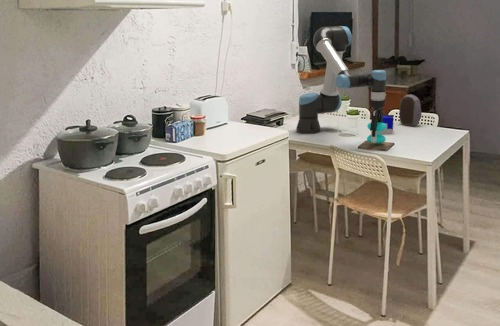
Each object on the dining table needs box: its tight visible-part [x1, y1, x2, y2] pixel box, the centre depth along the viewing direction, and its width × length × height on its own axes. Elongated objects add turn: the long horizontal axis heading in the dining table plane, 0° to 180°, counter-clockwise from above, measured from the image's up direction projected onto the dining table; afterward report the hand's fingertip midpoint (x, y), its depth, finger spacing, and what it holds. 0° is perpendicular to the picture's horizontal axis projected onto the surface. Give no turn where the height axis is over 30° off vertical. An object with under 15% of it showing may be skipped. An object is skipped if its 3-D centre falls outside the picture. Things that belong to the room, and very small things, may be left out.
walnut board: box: [357, 139, 395, 152], centre depth 288 cm, size 16×16×1 cm
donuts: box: [366, 122, 387, 143], centre depth 286 cm, size 10×10×10 cm
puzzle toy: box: [382, 114, 394, 135], centre depth 320 cm, size 10×10×10 cm
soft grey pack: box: [398, 94, 423, 126], centre depth 338 cm, size 15×8×20 cm, turn 36°
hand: (376, 140), depth 287 cm, fingers closed on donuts, 10 cm apart
